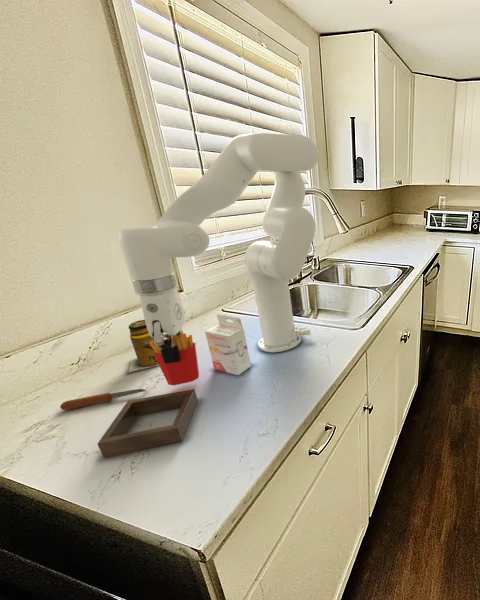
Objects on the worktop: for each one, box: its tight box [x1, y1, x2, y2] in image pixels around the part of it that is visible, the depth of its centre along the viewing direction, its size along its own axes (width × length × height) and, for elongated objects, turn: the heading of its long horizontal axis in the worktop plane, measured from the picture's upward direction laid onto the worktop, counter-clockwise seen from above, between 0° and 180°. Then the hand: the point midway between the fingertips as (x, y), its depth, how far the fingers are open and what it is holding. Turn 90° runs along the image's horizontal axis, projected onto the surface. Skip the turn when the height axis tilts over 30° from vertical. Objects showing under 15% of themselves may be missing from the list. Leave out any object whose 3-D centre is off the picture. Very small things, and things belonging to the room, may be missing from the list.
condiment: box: [128, 319, 159, 373], centre depth 89 cm, size 7×8×12 cm
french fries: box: [149, 332, 200, 386], centre depth 78 cm, size 8×4×12 cm, turn 115°
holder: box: [97, 388, 199, 459], centre depth 67 cm, size 13×13×4 cm
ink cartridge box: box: [204, 313, 252, 376], centre depth 85 cm, size 9×5×15 cm, turn 71°
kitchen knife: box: [59, 388, 147, 411], centre depth 75 cm, size 16×1×2 cm, turn 112°
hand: (176, 355), depth 78 cm, fingers closed on french fries, 4 cm apart
